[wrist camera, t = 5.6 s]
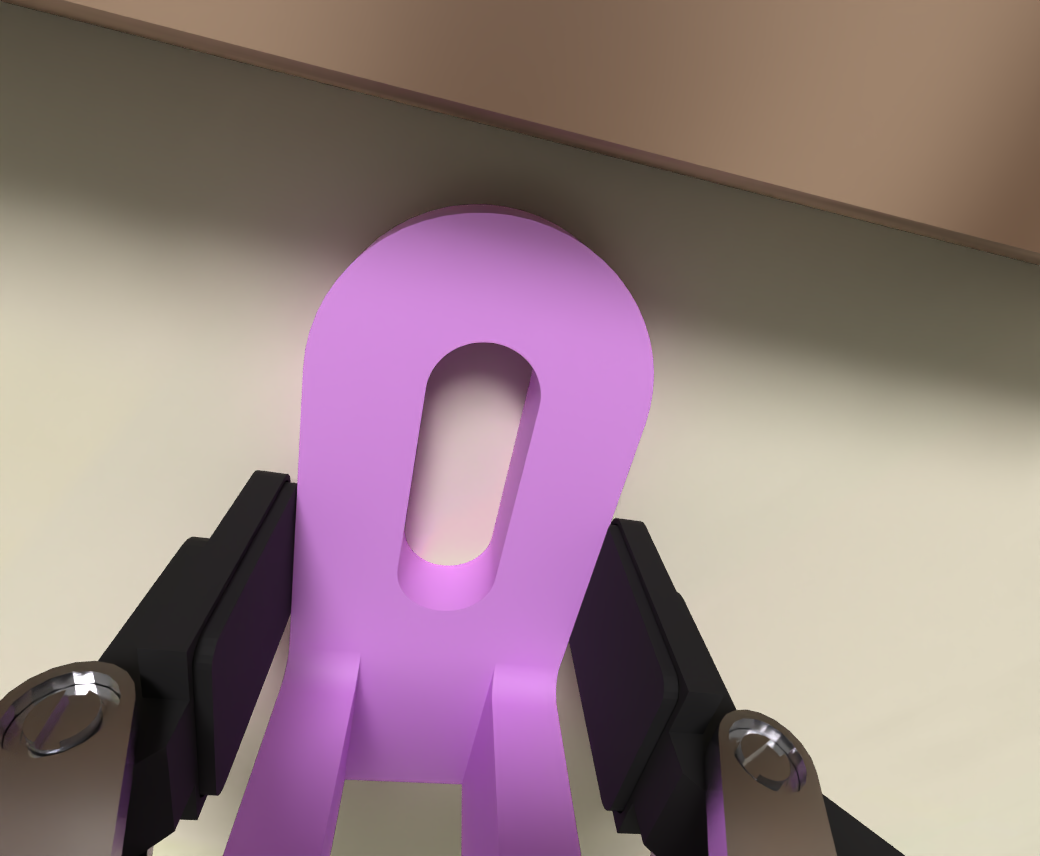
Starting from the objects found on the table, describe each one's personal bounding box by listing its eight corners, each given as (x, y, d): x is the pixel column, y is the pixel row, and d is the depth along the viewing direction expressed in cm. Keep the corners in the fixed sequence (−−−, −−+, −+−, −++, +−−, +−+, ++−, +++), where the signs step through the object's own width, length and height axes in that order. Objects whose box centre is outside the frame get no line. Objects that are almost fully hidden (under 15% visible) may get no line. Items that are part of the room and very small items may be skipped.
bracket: (512, 733, 15) (547, 1148, 9) (298, 721, 14) (165, 1178, 8) (672, 244, 9) (1072, 429, 3) (335, 167, 8) (-27, 220, 2)
